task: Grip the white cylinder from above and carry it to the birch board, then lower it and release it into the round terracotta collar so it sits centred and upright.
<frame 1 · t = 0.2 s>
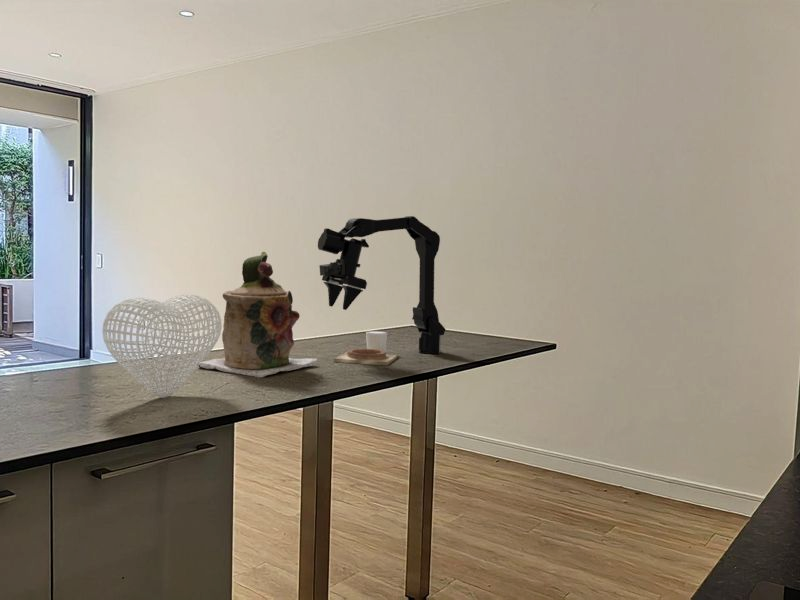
hand: (337, 307, 217), 15 cm above the table, tool pointing down, fingers open, 9 cm apart
cookie jar: (258, 368, 197), on the table
heart: (164, 398, 156), on the table
collar board: (366, 359, 216), on the table
white cylinder: (376, 354, 228), on the table
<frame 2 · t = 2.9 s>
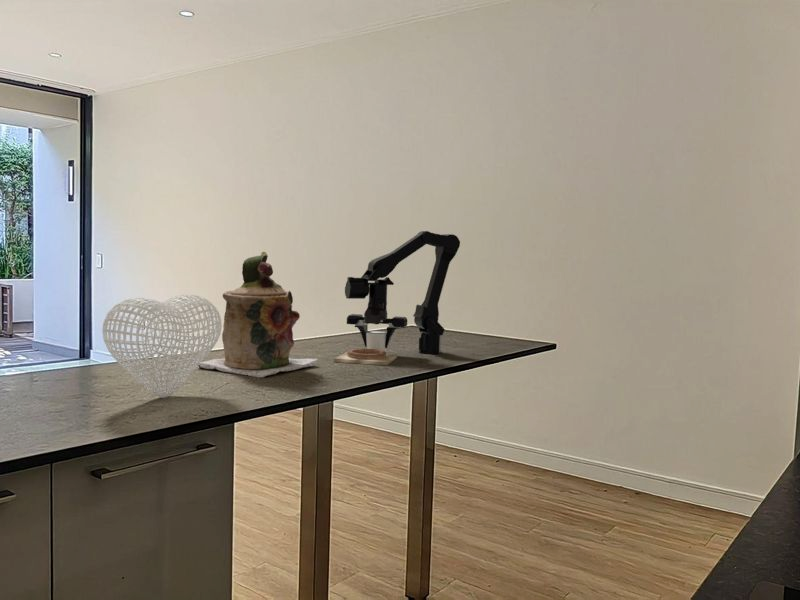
hand: (376, 347, 228), 2 cm above the table, tool pointing down, fingers closed on white cylinder, 6 cm apart
white cylinder: (376, 354, 228), on the table, touching gripper
everything else where it was.
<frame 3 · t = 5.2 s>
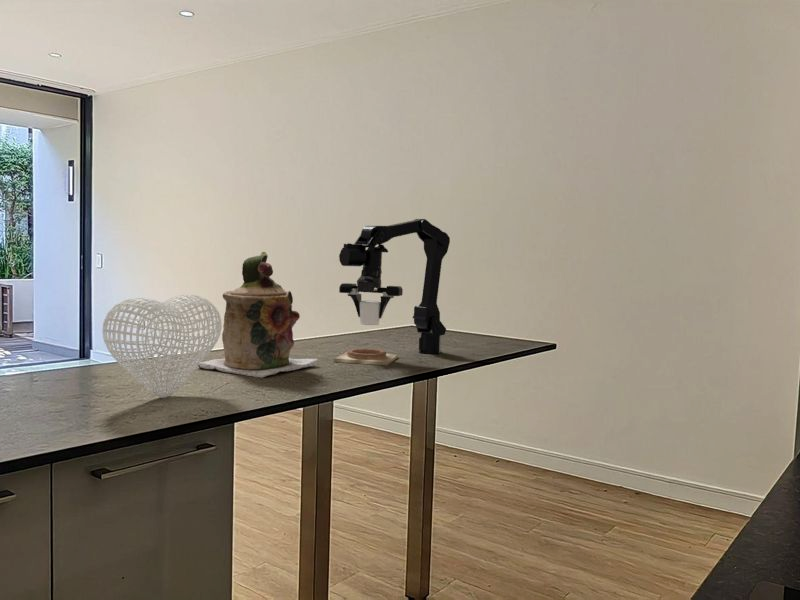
hand: (369, 317, 219), 12 cm above the table, tool pointing down, fingers closed on white cylinder, 6 cm apart
white cylinder: (369, 324, 219), point 10 cm above the table, touching gripper
everything else where it was.
when the fingers open (5 cm above the table, at t = 7.7 s): white cylinder drops 2 cm, resting on collar board.
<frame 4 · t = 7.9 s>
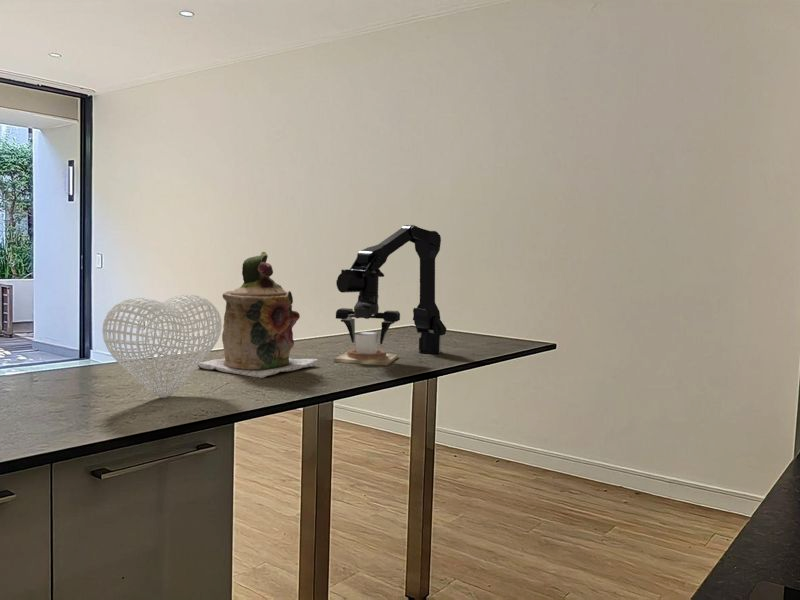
hand: (367, 343, 215), 5 cm above the table, tool pointing down, fingers open, 8 cm apart
white cylinder: (366, 356, 216), point 1 cm above the table, touching collar board
everything else where it was.
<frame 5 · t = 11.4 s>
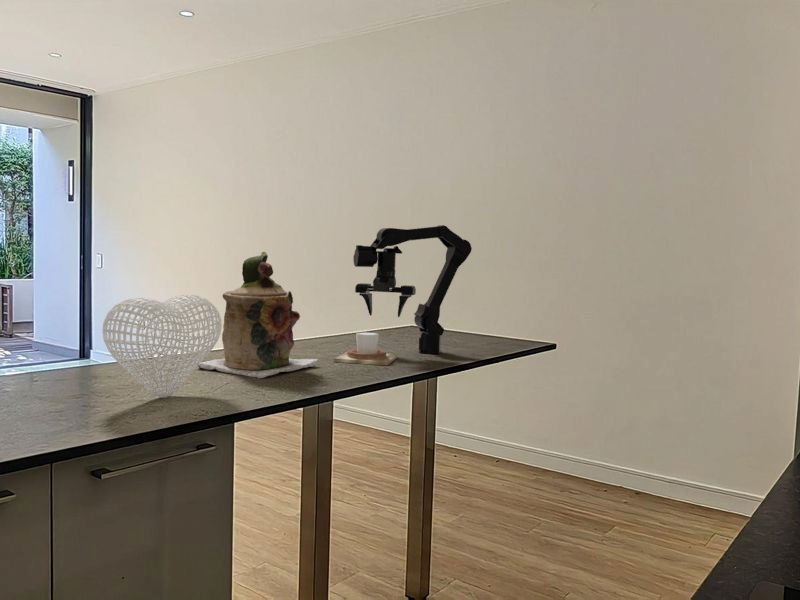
hand: (384, 316, 228), 12 cm above the table, tool pointing down, fingers open, 9 cm apart
nothing on the table moved.
at the end: white cylinder 0.1 cm off-centre on the collar board, point 0.8 cm above the collar board's base; white cylinder tilted 0°; the gripper is holding nothing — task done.
